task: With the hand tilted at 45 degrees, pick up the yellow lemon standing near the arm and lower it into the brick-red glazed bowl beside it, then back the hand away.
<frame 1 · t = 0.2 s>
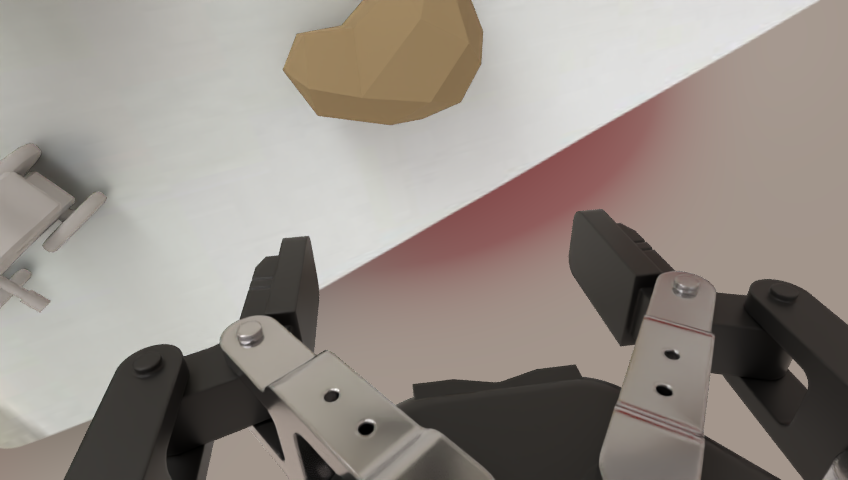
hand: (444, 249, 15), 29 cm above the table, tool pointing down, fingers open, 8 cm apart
pony: (34, 211, 43), on the table
low-poly potato: (381, 39, 39), on the table
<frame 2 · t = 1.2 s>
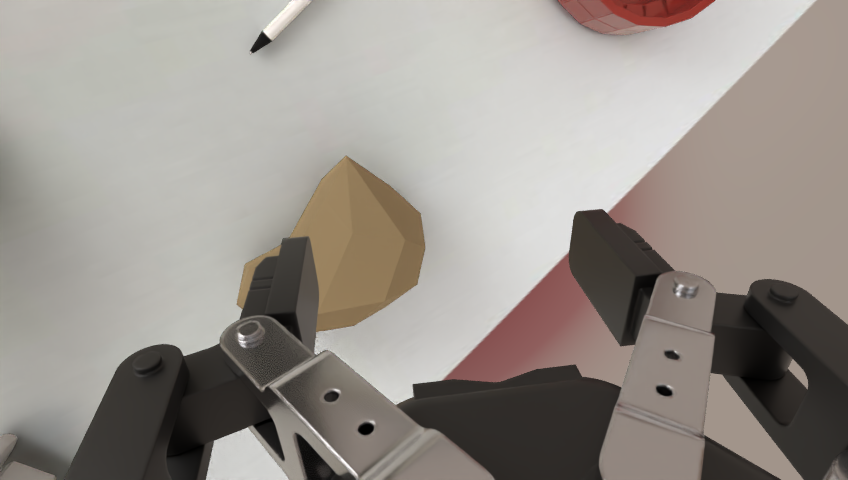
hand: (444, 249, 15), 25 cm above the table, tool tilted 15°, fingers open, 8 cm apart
low-poly potato: (329, 238, 40), on the table
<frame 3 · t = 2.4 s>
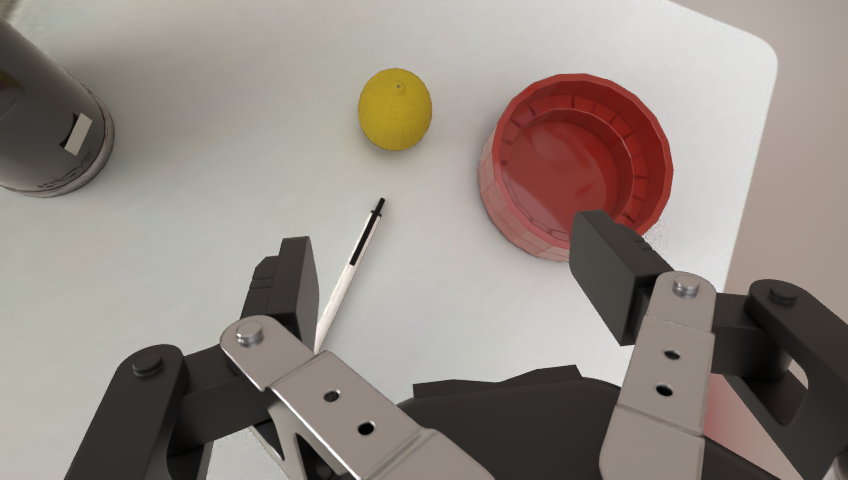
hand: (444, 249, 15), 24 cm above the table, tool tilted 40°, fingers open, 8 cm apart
lemon: (392, 133, 41), on the table
bowl: (556, 181, 42), on the table
pen: (332, 309, 38), on the table
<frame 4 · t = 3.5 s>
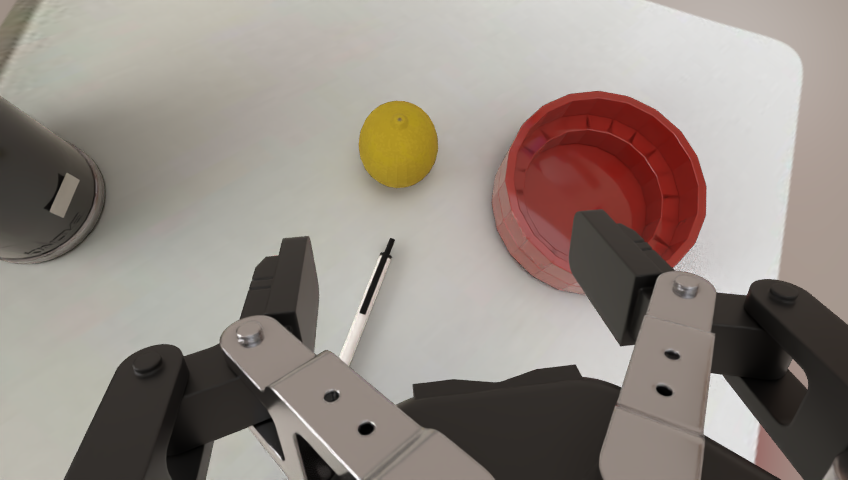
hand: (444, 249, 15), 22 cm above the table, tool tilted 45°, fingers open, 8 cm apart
lemon: (397, 169, 39), on the table
bowl: (577, 207, 39), on the table
pen: (344, 364, 35), on the table
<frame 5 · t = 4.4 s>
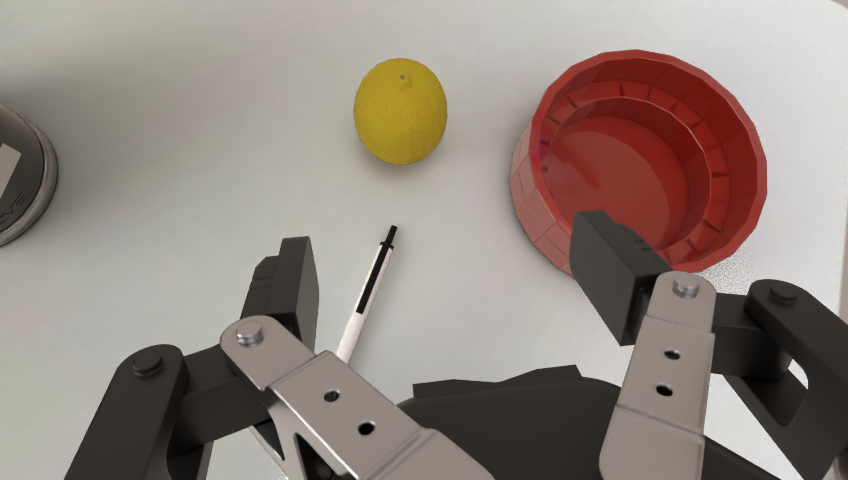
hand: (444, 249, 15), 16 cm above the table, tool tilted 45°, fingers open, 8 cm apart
lemon: (399, 145, 34), on the table
bowl: (608, 189, 33), on the table
pen: (337, 372, 30), on the table
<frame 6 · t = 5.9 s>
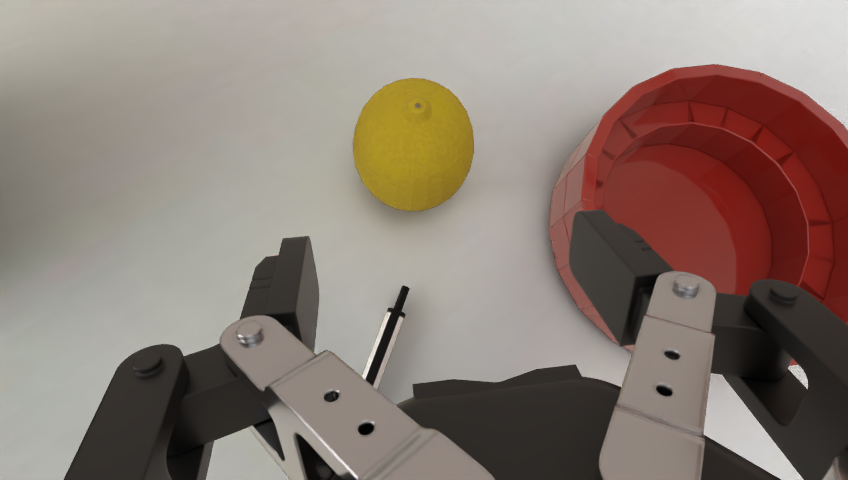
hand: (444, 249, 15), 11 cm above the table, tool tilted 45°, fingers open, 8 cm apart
lemon: (410, 181, 27), on the table
bowl: (670, 236, 27), on the table
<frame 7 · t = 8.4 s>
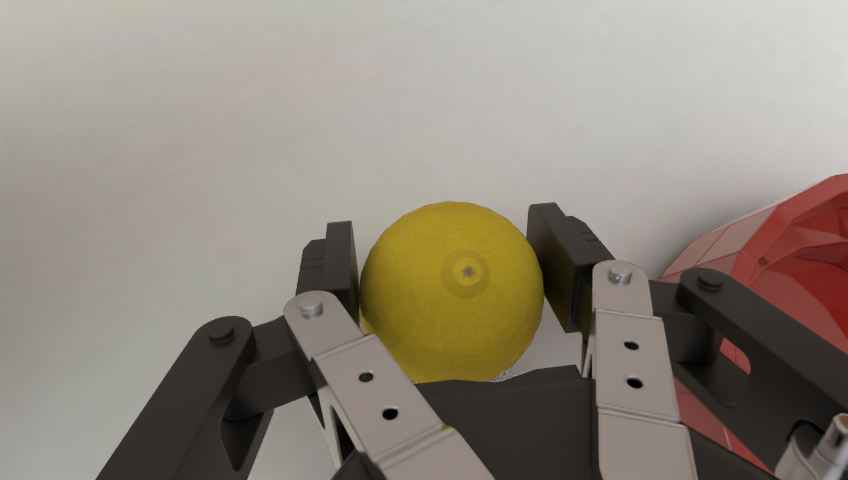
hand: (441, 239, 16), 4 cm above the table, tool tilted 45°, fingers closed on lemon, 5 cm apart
lemon: (437, 311, 19), on the table, touching gripper
bowl: (800, 389, 19), on the table
when the fingers open (5 cm above the table, at t = 16.5 s): lemon stays where it is, resting on bowl.
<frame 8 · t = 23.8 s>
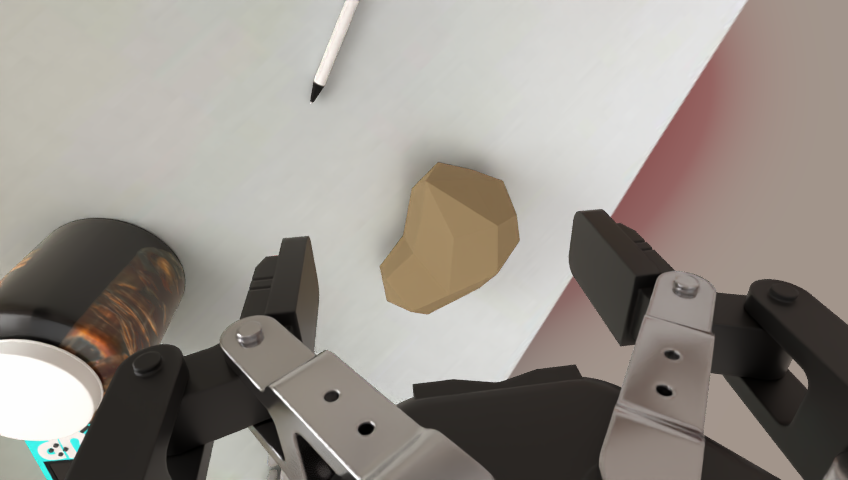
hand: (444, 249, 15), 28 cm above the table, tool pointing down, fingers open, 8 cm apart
jar: (116, 271, 45), on the table
handheld game console: (92, 451, 57), on the table
low-poly potato: (434, 215, 47), on the table
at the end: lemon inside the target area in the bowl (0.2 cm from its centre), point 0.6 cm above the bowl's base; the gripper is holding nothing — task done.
